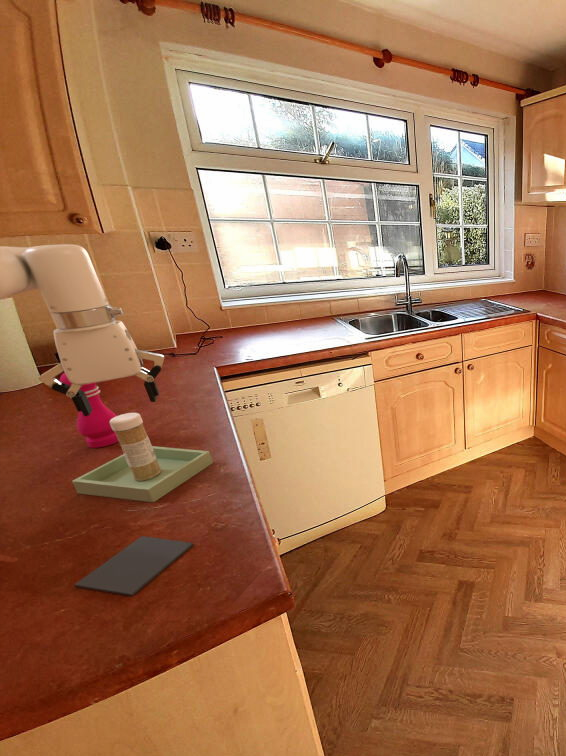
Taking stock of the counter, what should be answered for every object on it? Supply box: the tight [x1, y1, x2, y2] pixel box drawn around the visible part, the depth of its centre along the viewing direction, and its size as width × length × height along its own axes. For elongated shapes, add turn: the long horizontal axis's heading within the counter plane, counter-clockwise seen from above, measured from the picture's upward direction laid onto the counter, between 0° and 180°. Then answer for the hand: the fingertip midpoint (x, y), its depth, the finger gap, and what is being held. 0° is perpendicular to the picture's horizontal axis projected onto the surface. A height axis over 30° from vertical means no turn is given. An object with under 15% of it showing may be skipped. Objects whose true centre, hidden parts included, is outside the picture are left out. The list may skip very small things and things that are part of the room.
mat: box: [74, 535, 195, 597], centre depth 65 cm, size 10×10×1 cm
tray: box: [71, 445, 214, 503], centre depth 86 cm, size 18×14×3 cm
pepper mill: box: [59, 371, 119, 449], centre depth 97 cm, size 7×7×20 cm
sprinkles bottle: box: [110, 412, 162, 481], centre depth 84 cm, size 5×5×14 cm
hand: (122, 406), depth 81 cm, fingers open, 9 cm apart
